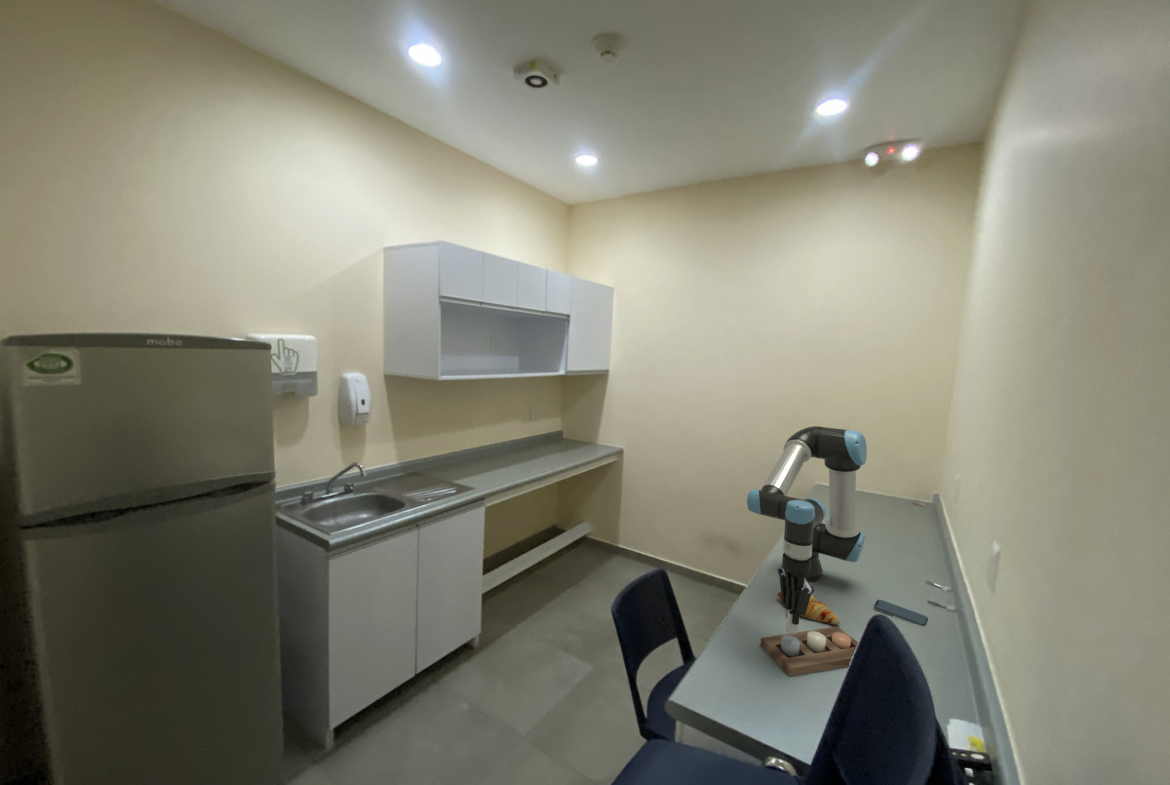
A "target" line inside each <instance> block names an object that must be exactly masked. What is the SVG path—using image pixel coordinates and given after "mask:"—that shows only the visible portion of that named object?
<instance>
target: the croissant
mask: <svg viewBox="0 0 1170 785" xmlns="http://www.w3.org/2000/svg"><path fill="white" fill-rule="evenodd" d="M777 597H778V599H780V600H781V591H778V592H777ZM785 599H786V598H785ZM800 616H802V617H803V618H805V619H808V620H812V621H817V622H820V623H828V624H829V625H835V626H837V625H840V623H841V621H840V619H839V618H838V616H837V614H836V613H835V612H834V611H831V609H830V608H829V607H828V605H827V604H826V603H823V602H820V601H818V599H817V597H815V596H814V595H813V593H812V594H811V597H810V600H809V604H808V607H807V611H806V614H805V615H800Z"/></svg>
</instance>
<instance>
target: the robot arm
mask: <svg viewBox="0 0 1170 785" xmlns="http://www.w3.org/2000/svg"><path fill="white" fill-rule="evenodd" d="M867 452H868V450H867V442H866V438H865V436H864V434H863V433H862V432H860V431H857V430H851V429H849V428H848V429H843V428H833V427H826V426H825V427H824V426H818V425H816V426H815V425H814V426H807V427H805V428H802V429H800V430H798V431H796V432H794V434H793V435H791V436H790V437H788V439H787V440H786V441H785V443H784V445H783V452H782V453H781V456H780V458H779V459H778V460H777V462H776V464H775V466H774V467H773V469H772V471H771V472H770V474H769V476H768V477H767V479H766V481H765V483H764V484H763V486H762V488H761V489H758V488H757V489H755V488H752V489H750V490H749V492H748V494H747V498H746V506H747V510H748V511H749V512H750V513H754V514H756V515H760V516H764V517H770V518H774V519H777V520H783V521H784V533H783V535H784V536H783V549H782V558H781V559H782V560H781V568H778V569H777V573H778V577H779V585H780V586H779V587H780V592H781V599H780V600H781V603H782V604H783V605H785V606H784V607H785V610H786V613H785V617H786V625H785V632H786V634H794V633H797V632H798V625H799V624H800V616H801V615H805V614H806V611H807V607H808V604H809V600H810V597H811V594H812V595H813V593H814V592H815V587H813V586H810V584H809V582H817V581H820V580H823V579H822V578H823V574H824V573H823V567H822V564H821V561H820V554H821V555H824V556H828V557H831V558H835V559H839V560H842V561H844V562H851V563H856V562H859V560H860V557H861V554H862V551H863V548H864V543H865V539H866V538H865V537H866V535H865V533H864V532H862V531H861V530H860V529H861V528H860V526H859V524H857V523H856V498H857V497H856V495H857V493H856V492H857V489H856V487H857V471H858V470H860V469H861V467H862V466H863V465H865V464H866V463H867V462H866V461H867V457H868V456H867ZM811 458H816V459H820V460H824V461H823V462H824V466H825V468H827V469H828V477H829V478H828V479H829V481H828V484H829V487H828V488H829V491H828V495H829V497H828V498H829V502H828V503H829V504H828V505H829V506H828V507H829V512H828V513H829V520H827V521H826V522H825V523H823V520H824V518H825V517H826V514H827V512H826V511H827V510H826V507H825V505H824V504H823V502H821V501H820V500H819V499H816V498H814V497H809V498H805V499H802V498H798V497H792V496H789V495H787V494H788V493H789V491H790V489H791V488H792V485H793V484H794V482H795V480H796V478H797V476H798V475H799V473H800V471H801V468H802V467H803V466H804V463H807V462H808V461H809V460H810V459H811ZM785 598H786V599H785Z"/></svg>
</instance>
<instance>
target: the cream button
mask: <svg viewBox="0 0 1170 785" xmlns="http://www.w3.org/2000/svg"><path fill="white" fill-rule="evenodd" d="M825 646H826V637H825V636H824V635H823V634H821V633H819V632H815V631H810V632H808V634H807V647H808V648H809V649H810V650H811V651H812V652H813V653H821V652H825Z"/></svg>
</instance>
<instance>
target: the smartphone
mask: <svg viewBox="0 0 1170 785" xmlns="http://www.w3.org/2000/svg"><path fill="white" fill-rule="evenodd" d="M873 610H874V611H876V612H879V613H881V614H885V615H887V616H890V617H893V616H895V617H897V618H896V619H898V618H900V619H899V620H901V619H902V620H901V621H904V620H905V622H907V621H908V623H910V622H911V623H910V624H913V623H914V624H913V625H915V624H918V625H921V626H925V625H926V626H927V623H928V621H929V620H928V619H929V618H928V617H927V616H926V615H925V614H922V613H919V612H917V611H914V610H911V609H907V608H905V607H902V606H900V605H896V604H894V603H891V602H889V601H885V600H883V599H877V600H876V601H875V604H874V605H873ZM895 617H893V618H895ZM926 622H927V623H926ZM918 625H917V626H918ZM921 626H920V627H921ZM926 626H925V627H926Z"/></svg>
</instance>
